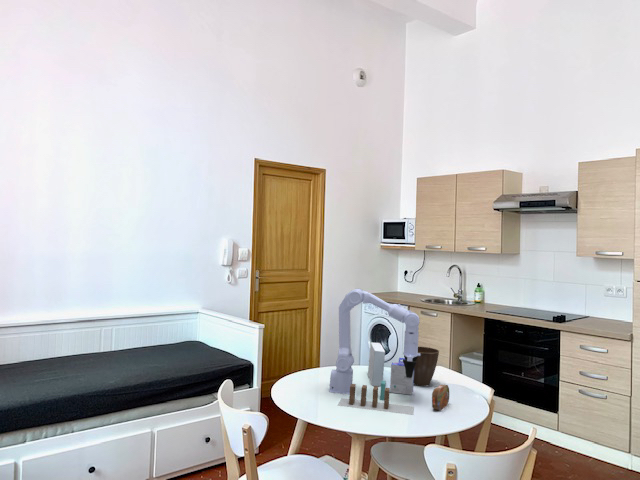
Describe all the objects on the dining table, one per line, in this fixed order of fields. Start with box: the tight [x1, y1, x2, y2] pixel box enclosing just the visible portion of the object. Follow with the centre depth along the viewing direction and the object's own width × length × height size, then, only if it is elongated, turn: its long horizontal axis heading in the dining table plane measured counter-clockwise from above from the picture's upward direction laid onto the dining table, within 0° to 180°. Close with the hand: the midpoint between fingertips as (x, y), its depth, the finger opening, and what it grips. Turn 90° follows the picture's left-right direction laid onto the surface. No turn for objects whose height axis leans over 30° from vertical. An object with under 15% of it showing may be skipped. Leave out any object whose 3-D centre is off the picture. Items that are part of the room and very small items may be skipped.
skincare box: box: [367, 342, 386, 387], centre depth 231 cm, size 21×5×16 cm, turn 179°
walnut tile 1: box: [348, 383, 357, 405], centre depth 194 cm, size 2×4×7 cm, turn 167°
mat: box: [336, 397, 415, 416], centre depth 192 cm, size 29×10×1 cm, turn 77°
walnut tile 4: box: [383, 387, 391, 409], centre depth 191 cm, size 2×4×7 cm, turn 167°
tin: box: [431, 384, 450, 412], centre depth 195 cm, size 15×3×8 cm, turn 148°
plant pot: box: [413, 346, 440, 387], centre depth 228 cm, size 15×15×16 cm
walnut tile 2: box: [360, 384, 368, 406], centre depth 193 cm, size 2×4×7 cm, turn 167°
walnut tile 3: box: [371, 386, 379, 408], centre depth 192 cm, size 2×4×7 cm, turn 167°
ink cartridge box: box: [389, 357, 415, 396], centre depth 214 cm, size 10×6×14 cm, turn 78°
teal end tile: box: [379, 380, 387, 401], centre depth 202 cm, size 2×4×7 cm, turn 167°
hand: (409, 375), depth 204 cm, fingers open, 7 cm apart
